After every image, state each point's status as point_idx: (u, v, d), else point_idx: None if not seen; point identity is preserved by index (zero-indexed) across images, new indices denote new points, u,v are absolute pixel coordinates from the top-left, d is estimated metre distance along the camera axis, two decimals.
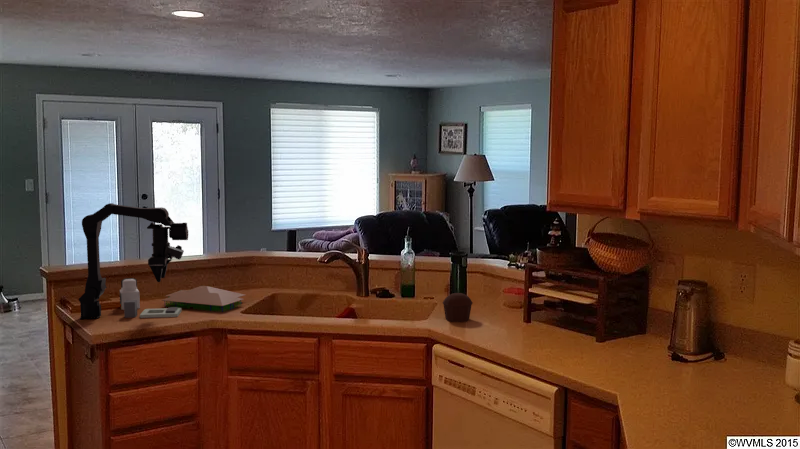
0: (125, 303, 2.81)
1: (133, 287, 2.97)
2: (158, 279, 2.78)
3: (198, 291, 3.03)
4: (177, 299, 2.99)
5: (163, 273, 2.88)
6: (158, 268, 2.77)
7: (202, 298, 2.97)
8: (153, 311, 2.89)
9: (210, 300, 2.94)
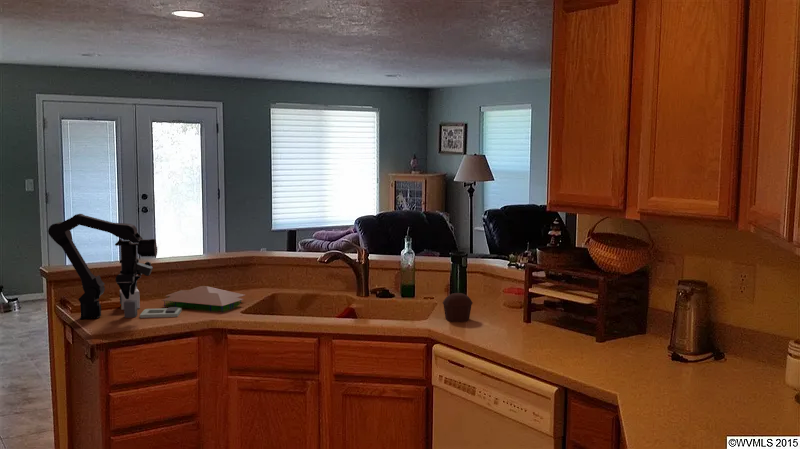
0: (125, 303, 2.81)
1: None
2: (127, 296, 2.77)
3: (198, 291, 3.02)
4: (177, 299, 2.99)
5: (132, 290, 2.87)
6: (126, 285, 2.76)
7: (202, 298, 2.97)
8: (153, 311, 2.89)
9: (210, 300, 2.94)
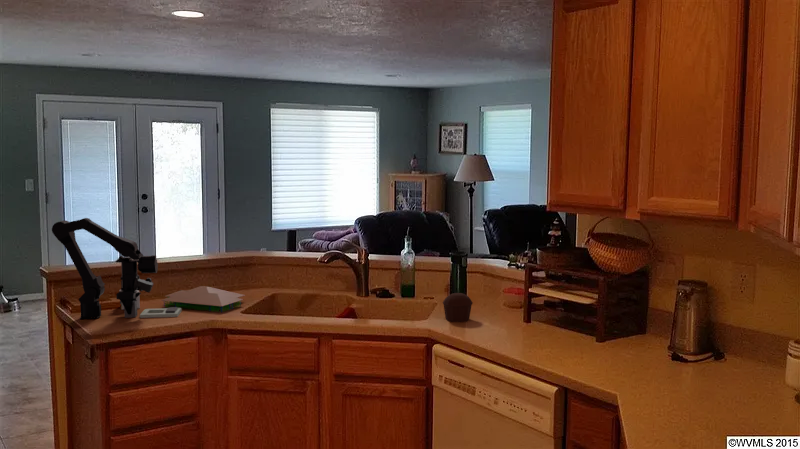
0: None
1: None
2: (129, 311, 2.80)
3: (197, 291, 3.02)
4: (176, 299, 2.99)
5: None
6: (128, 301, 2.79)
7: (201, 298, 2.96)
8: (153, 311, 2.89)
9: (210, 301, 2.94)
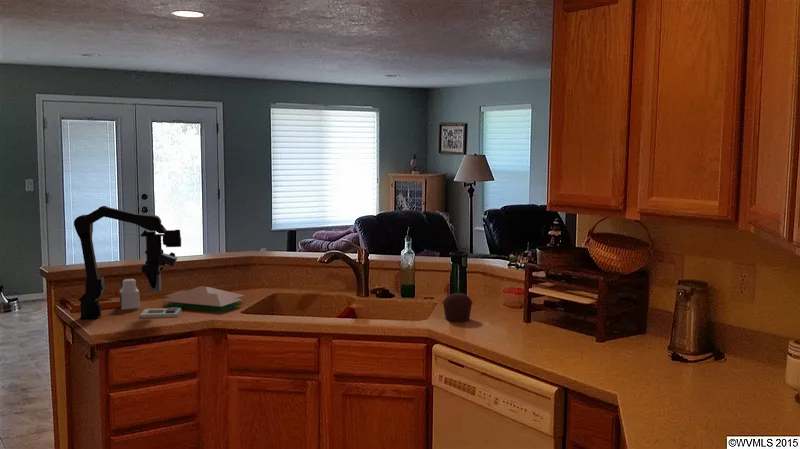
0: None
1: (133, 287, 2.97)
2: (153, 285, 2.83)
3: (197, 292, 3.02)
4: (176, 300, 2.98)
5: None
6: (153, 274, 2.82)
7: (201, 299, 2.96)
8: (153, 311, 2.89)
9: (209, 301, 2.93)
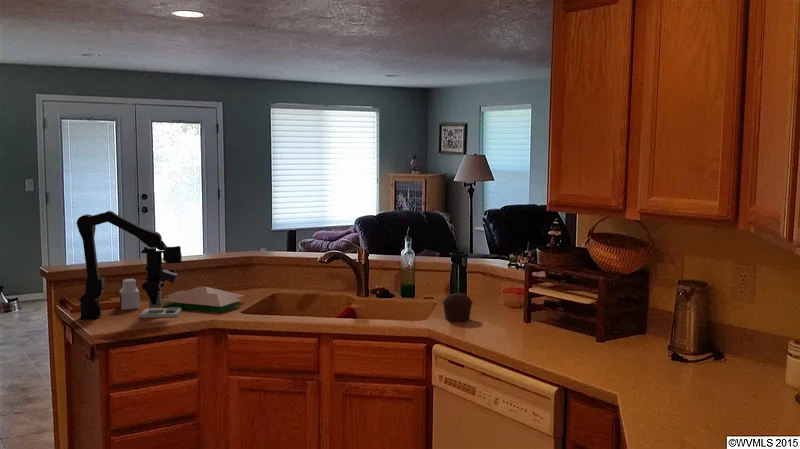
0: None
1: (133, 287, 2.97)
2: (154, 302, 2.83)
3: (197, 292, 3.01)
4: (175, 300, 2.98)
5: None
6: (153, 291, 2.82)
7: (200, 299, 2.96)
8: (153, 311, 2.89)
9: (208, 301, 2.93)
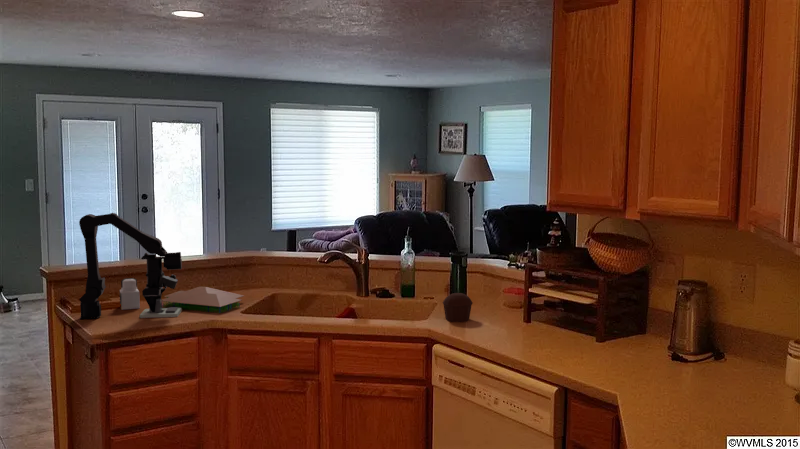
0: None
1: (133, 287, 2.97)
2: (153, 309, 2.81)
3: (196, 292, 3.01)
4: (175, 300, 2.98)
5: None
6: (152, 298, 2.80)
7: (200, 299, 2.95)
8: None
9: (208, 301, 2.93)
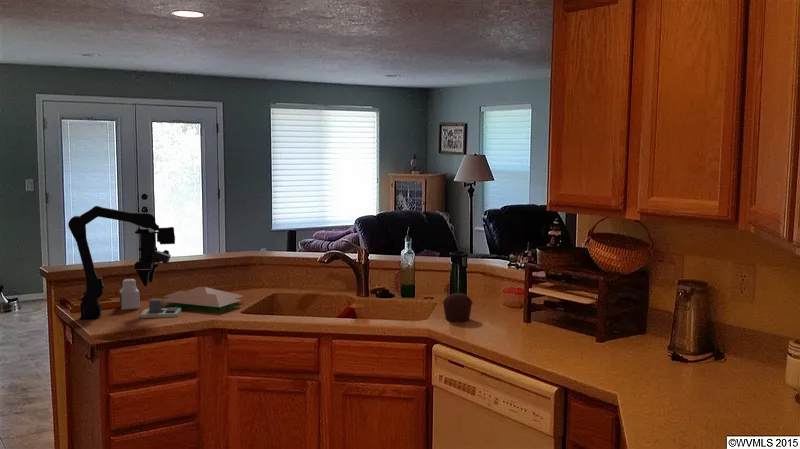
0: (150, 301, 2.84)
1: (133, 287, 2.97)
2: (145, 283, 2.83)
3: (196, 292, 3.01)
4: (175, 300, 2.97)
5: (151, 277, 2.92)
6: (145, 272, 2.82)
7: (199, 299, 2.95)
8: None
9: (208, 301, 2.92)
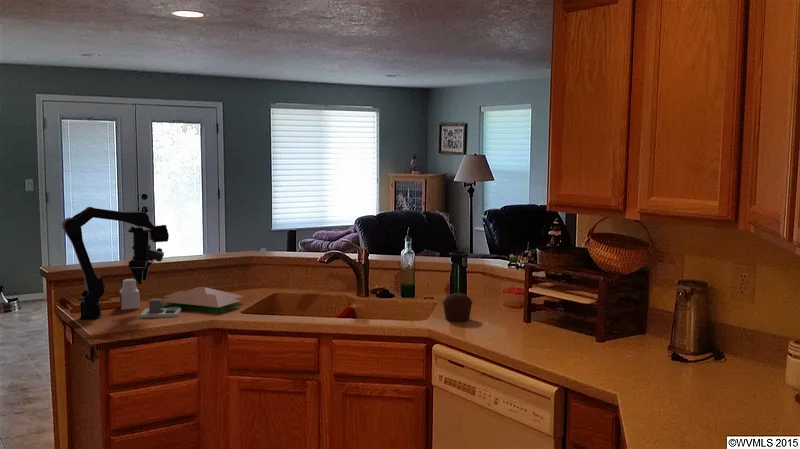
0: (150, 301, 2.84)
1: (133, 287, 2.97)
2: (139, 281, 2.85)
3: (195, 292, 3.00)
4: (174, 300, 2.97)
5: (144, 275, 2.95)
6: (139, 270, 2.84)
7: (199, 299, 2.94)
8: None
9: (207, 302, 2.92)
